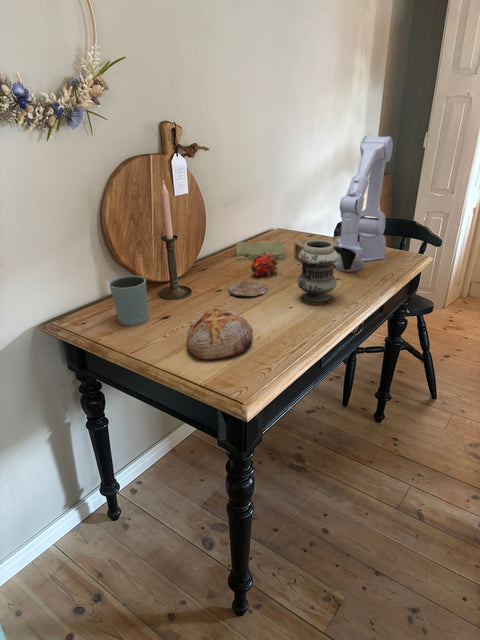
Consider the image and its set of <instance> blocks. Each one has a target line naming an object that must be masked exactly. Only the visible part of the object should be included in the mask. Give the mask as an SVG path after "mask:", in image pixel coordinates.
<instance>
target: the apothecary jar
mask: <svg viewBox="0 0 480 640" xmlns="http://www.w3.org/2000/svg"><path fill="white" fill-rule="evenodd" d="M309 240H310V241H307V242H306V243H305V245H304V249H302V250H301V251H300V253H299V260H300V261H301V262H302V263H301V262H300V261H299V262H300V263H301V266H302V267H301V274H300V275H299V276H298V278H297V279H296V280H297V286H298V288H300V290H302V291H303V294H301V295H300V301H302V303H304V304H307V305H313V306H323V305H325V304H330V303H331V302H332V301H333V298H332V297H333V296H331V295H330V294H329V293H330V292H331V291H333V290H335V288H336V286H337V285H338V280H337V278H336V277H335V276H334V267H335V265H334V263H335V262H336V261H337V260H338V254H339V253H337V252H336V251H335V250H334V248H333V243H332V242H330V241H327V240H312V239H309ZM304 292H305V293H304Z"/></svg>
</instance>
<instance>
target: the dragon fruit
mask: <svg viewBox="0 0 480 640" xmlns="http://www.w3.org/2000/svg"><path fill="white" fill-rule="evenodd" d="M251 262H252V264H251V265H250V269H251V271H252V273H254V277H261V276H263V275H266V277H269V276H271V274H272V272H274V271H277V270H278V267H277V265H278V262H277V260H276V258H275V257H274V256H273V254H269V255H267V254H266V253H263V255H258V256H257V257H256V258H255V259H254V260H251Z"/></svg>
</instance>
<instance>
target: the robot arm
mask: <svg viewBox="0 0 480 640" xmlns="http://www.w3.org/2000/svg"><path fill="white" fill-rule="evenodd" d="M393 148H394V144H393V139H392V136H389V135H388V136H367V135H364V136H363V137H362V138H361V141H360V145H359V149H360V150H359V151H360V156H361V158H360V162H359V165H358V169H357V172H356V173H357V174H356V175H354V176H353V177H352V178H351V181H350V184H349V186H348V189H347V191H346V195H344V196H342V197H341V199H340V202H339V212H340V218H341V228H340V229H341V231H340V236H341V238H340V239H336V245H338V247H340V248H342V249H339V253H340V255H341V258H342V262H343V267H344V269H345V270H348V269H351V266H352V263H353V260H354V258H355V257H356V256H357V257H361V258H362V259H363V262H368V261H369V262H371V261H377V260H383V259H386V256H385V252H386V244H387V243H386V236H385V235H384V232H385V229H386V214H385V213H384V212H383V211H382V210H381V209H380V203H381V198H382V197H381V196H382V190H383V182H384V177H385V175H384V174H385V168H386V164H387V163H388V162H390V161H391V158H392V153H393ZM368 177H369V178H368ZM366 191H367V193H366ZM365 194H367V195H366V201H365ZM364 201H365V203H366V204H365V208H363V207H364ZM358 239H359V240H358ZM339 253H338V254H339Z"/></svg>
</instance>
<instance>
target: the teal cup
mask: <svg viewBox="0 0 480 640" xmlns="http://www.w3.org/2000/svg"><path fill="white" fill-rule="evenodd" d="M108 285H109V290H110V291H111V296H112V301H113V304H114V308H115V312H116V315H117V319H118V322H119V324H120V325H122V326H127V327H132V326H133V327H134V326H140V325H142V324H144V323H146V322H147V321H148V320H149V306H148V294H147V279H146V278H145V277H144V276H141V275H124V276H120V277H117V278H115V279H112V280H111V281H110V282H109V284H108Z"/></svg>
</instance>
